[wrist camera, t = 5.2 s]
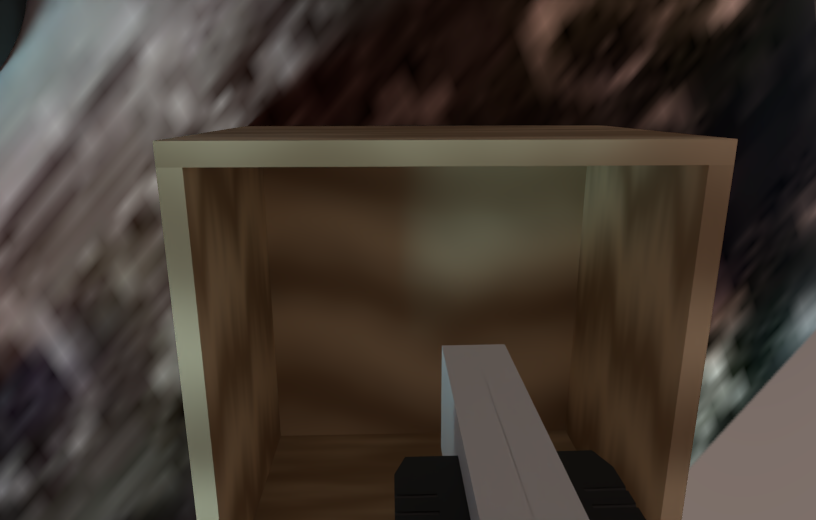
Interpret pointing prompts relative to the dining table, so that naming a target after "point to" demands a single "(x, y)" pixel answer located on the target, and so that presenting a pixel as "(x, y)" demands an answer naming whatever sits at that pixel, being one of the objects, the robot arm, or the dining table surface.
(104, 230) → the dining table surface
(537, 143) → the wooden box
